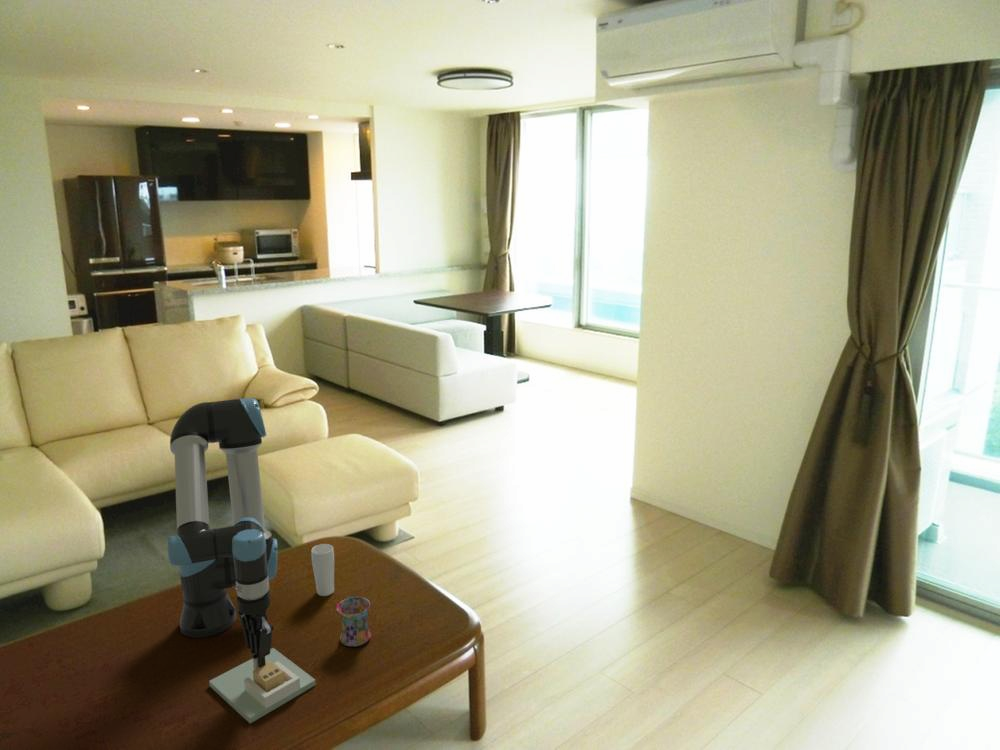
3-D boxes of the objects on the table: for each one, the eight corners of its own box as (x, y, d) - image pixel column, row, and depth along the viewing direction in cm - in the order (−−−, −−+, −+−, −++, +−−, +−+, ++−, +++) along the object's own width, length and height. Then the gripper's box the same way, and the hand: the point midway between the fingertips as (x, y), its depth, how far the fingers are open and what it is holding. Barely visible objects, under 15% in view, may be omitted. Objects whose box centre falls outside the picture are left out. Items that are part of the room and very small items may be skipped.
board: (209, 686, 177) (207, 670, 176) (273, 652, 190) (272, 638, 189) (250, 723, 164) (248, 707, 163) (315, 684, 177) (314, 669, 176)
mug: (373, 646, 192) (371, 612, 190) (339, 652, 190) (336, 617, 187) (370, 622, 203) (368, 589, 201) (338, 627, 201) (335, 594, 199)
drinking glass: (338, 586, 223) (335, 543, 219) (334, 597, 216) (331, 553, 213) (317, 586, 223) (313, 543, 219) (312, 598, 216) (308, 554, 212)
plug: (254, 688, 174) (252, 670, 173) (272, 678, 177) (270, 660, 176) (267, 699, 170) (265, 680, 169) (285, 688, 174) (283, 670, 172)
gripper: (225, 589, 172) (234, 672, 178) (252, 609, 164) (260, 695, 170) (253, 577, 177) (261, 658, 183) (280, 596, 169) (287, 680, 175)
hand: (260, 676), depth 176 cm, fingers closed
